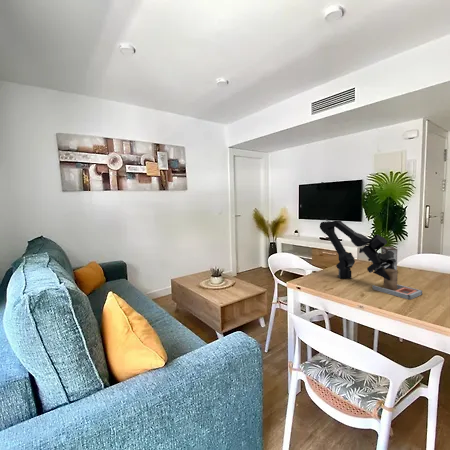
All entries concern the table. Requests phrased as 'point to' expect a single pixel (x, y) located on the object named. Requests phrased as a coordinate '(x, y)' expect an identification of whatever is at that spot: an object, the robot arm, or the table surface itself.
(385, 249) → the coffee box
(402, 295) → the u-shaped frame
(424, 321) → the table surface
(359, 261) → the table surface
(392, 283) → the walnut block
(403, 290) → the rectangular frame
